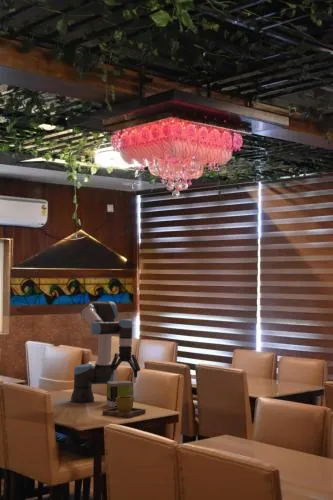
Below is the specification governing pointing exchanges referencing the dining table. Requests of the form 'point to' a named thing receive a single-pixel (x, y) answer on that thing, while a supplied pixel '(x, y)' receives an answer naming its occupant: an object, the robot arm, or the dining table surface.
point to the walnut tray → (116, 413)
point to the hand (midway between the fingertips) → (124, 382)
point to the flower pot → (124, 403)
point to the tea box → (118, 391)
